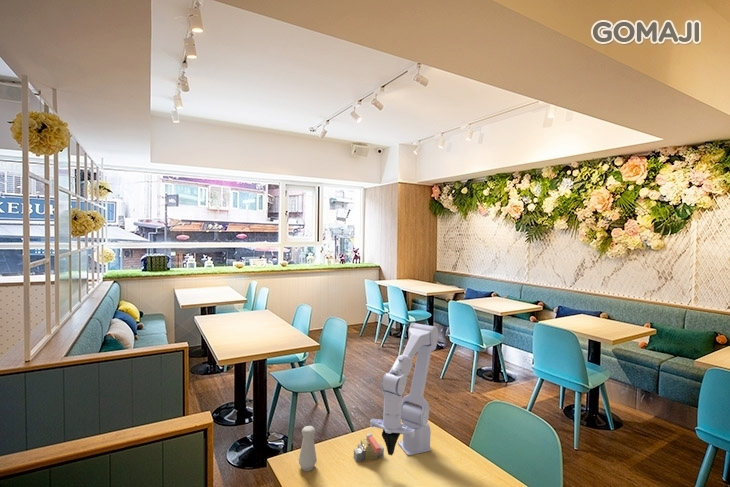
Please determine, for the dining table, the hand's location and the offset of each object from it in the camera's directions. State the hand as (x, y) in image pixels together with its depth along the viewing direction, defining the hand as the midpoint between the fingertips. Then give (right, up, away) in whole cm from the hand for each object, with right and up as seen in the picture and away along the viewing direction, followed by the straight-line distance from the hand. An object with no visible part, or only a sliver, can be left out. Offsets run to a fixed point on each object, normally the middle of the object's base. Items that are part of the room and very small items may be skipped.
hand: (390, 453), depth 116 cm
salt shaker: (-27, -6, +1) cm, 28 cm away
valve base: (-7, -6, +8) cm, 12 cm away
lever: (-6, 0, +4) cm, 7 cm away
